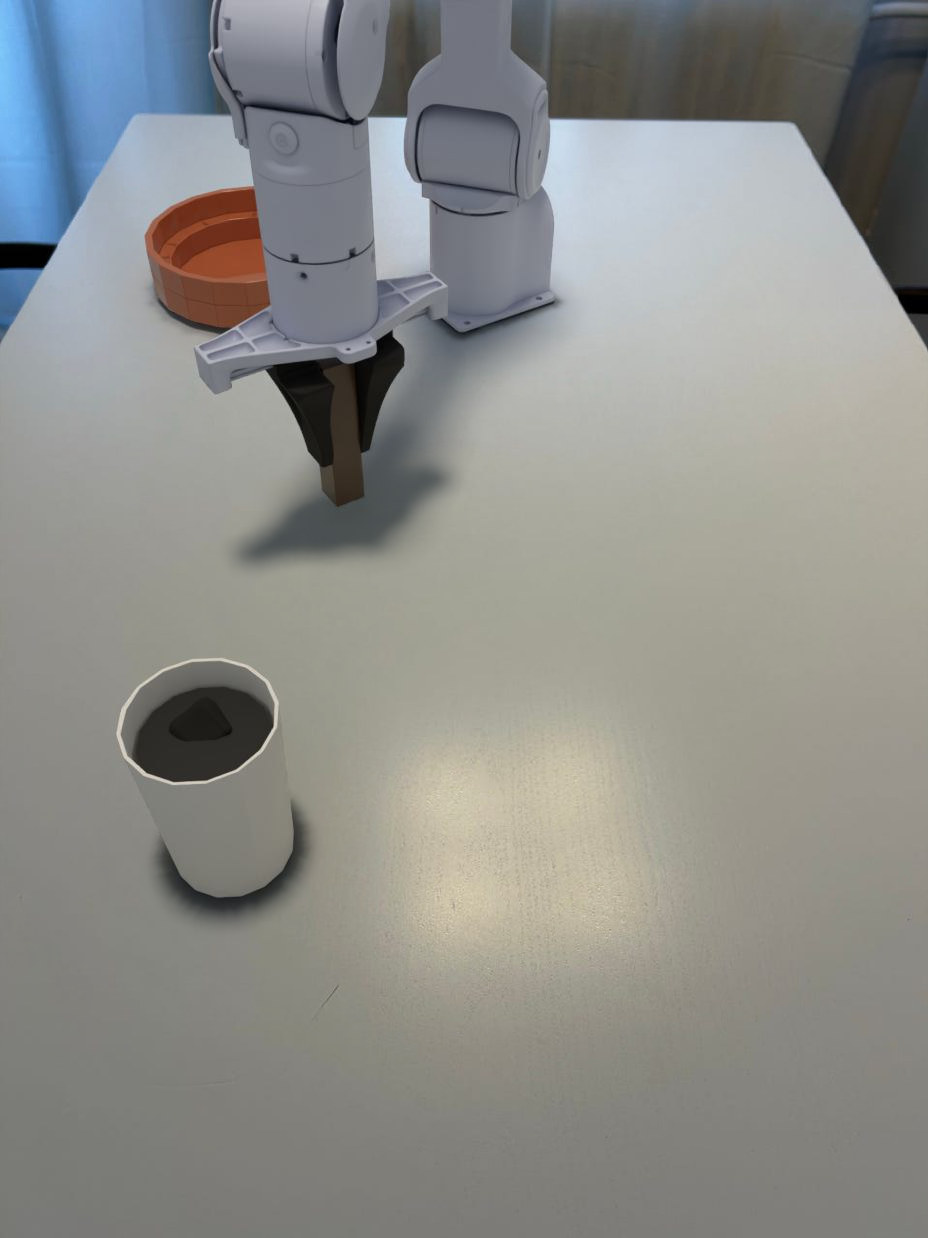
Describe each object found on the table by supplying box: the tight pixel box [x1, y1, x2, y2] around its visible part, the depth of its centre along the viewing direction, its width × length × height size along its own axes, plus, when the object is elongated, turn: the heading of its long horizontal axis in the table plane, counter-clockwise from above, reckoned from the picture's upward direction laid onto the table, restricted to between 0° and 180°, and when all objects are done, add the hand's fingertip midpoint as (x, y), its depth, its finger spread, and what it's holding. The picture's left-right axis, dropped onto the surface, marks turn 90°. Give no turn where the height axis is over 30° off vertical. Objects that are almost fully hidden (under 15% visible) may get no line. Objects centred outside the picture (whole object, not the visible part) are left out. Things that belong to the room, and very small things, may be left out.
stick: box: [316, 357, 366, 508], centre depth 61 cm, size 2×2×10 cm
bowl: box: [144, 185, 271, 329], centre depth 85 cm, size 16×16×4 cm
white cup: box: [115, 657, 295, 898], centre depth 46 cm, size 7×7×10 cm
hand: (338, 450), depth 62 cm, fingers closed on stick, 2 cm apart
